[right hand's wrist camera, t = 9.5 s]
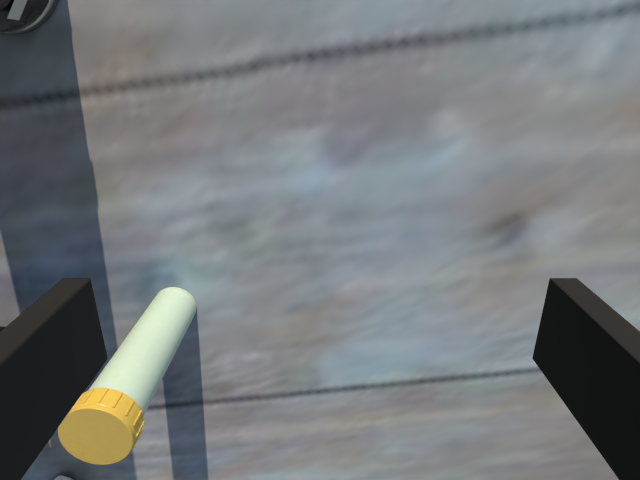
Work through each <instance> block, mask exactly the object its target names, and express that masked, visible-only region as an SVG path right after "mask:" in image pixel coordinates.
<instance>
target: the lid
mask: <svg viewBox="0 0 640 480" xmlns="http://www.w3.org/2000/svg"><path fill="white" fill-rule="evenodd" d="M144 422H145V421H143V414H142V410H141V409H140V407H139V406H138V404H137V403H136V402H135V401H134V400H133V399H132V398H131V397H129V396H128V395H126V394H124V393H123V392H120V391H117V390H114V389H109V388H96V389H94V388H93V389H91V390H88V391H86V392H84V393H82V395H81V396H80V397H79V399H78V400H77V402H76V403H75V404H74V406H73V407H72V409H71V410H70V411H69V413H68V414H67V416H66V417H65V418H64V420H63V421H62V423H61V424H60V425H59V427H58V436H59V440H60V442H61V444H62V445H63V447H64V448H65V449H66V450H67V451H68V452H69V453H70V454H71V455H73V456H74V457H76V458H78V459H79V460H82V461H84V462H87V463H91V464H97V465H108V464H113V463H116V462H119V461H121V460H122V459H124V458H125V457H126V456H127V455H128V454H129V453H130V451H131V449H132V447H133V448H134V446H135V444H136V442H137V440H138V438H139V436H140V434H141V432H142V431H141V429H142V427H143V424H144Z"/></svg>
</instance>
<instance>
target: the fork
mask: <svg viewBox="0 0 640 480" xmlns="http://www.w3.org/2000/svg"><path fill="white" fill-rule="evenodd" d="M54 480H73V479H71V478H69V477H67V476H63V475H59V476H57V477H56V478H55V479H54Z"/></svg>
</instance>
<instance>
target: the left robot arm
mask: <svg viewBox="0 0 640 480" xmlns="http://www.w3.org/2000/svg"><path fill="white" fill-rule="evenodd" d="M57 2H58V0H0V33H2V34H21V33H26V32H29V31H32V30H34V29H36V28H37V27H39V26H40V25H42V24H43V23H44V22H45V21H46V20H47V19H48V18H49V17H50V15H51V14H52V13H53V11H54V9H55V7H56V5H57ZM4 328H5V327H0V332H1V331H2V330H3V329H4Z"/></svg>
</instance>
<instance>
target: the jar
mask: <svg viewBox="0 0 640 480" xmlns="http://www.w3.org/2000/svg"><path fill="white" fill-rule="evenodd" d="M195 313H196V302H195V300H194V298H193V297H192V296H191V295H190V294H189V293H188V292H187V291H185V290H183V289H181V288H176V287H170V288H166V289H163V290H161V291H160V292H159V293H158V294H157V295H156V297H155V298H154V299H153V301H152V302H151V304H150V305H149V306H148V308H147V309H146V311H145V312H144V313H143V315H142V316H141V318H140V319H139V320H138V322H137V323H136V325H135V326H134V327H133V329H132V330H131V332H130V333H129V334H128V336H127V337H126V338H125V340H124V341H123V343H122V344H121V345H120V347H119V348H118V350H117V351H116V352H115V354H114V355H113V357H112V358H111V359H110V361H109V362H108V364H107V365H106V366H105V368H104V369H103V371H102V372H101V373H100V375H99V376H98V377H97V379H96V380H95V382H94V383H93V384H92V386H91V387H90V389H89V390H91V389H93V388H94V389H96V388H109V389H114V390H117V391H120V392H123V393H124V394H126V395H128V396H129V397H131V398H132V399H133V400H134V401H135V402H136V403H137V404H138V406H139V407H140V409H141V410H142V414H143V416H144V414H145V412H146V410H147V408H148V406H149V404H150V402H151V400H152V398H153V396H154V394H155V392H156V390H157V388H158V386H159V384H160V382H161V380H162V378H163V377H164V375H165V373H166V371H167V369H168V367H169V365H170V363H171V361H172V359H173V357H174V355H175V353H176V351H177V349H178V347H179V345H180V343H181V341H182V339H183V337H184V335H185V333H186V331H187V329H188V327H189V325H190V323H191V321H192V320H193V318H194V316H195Z"/></svg>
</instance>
